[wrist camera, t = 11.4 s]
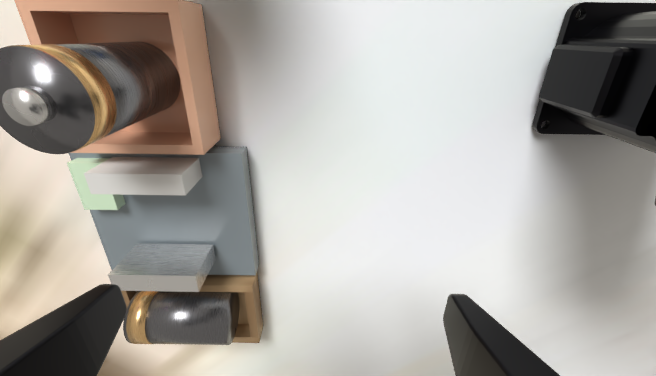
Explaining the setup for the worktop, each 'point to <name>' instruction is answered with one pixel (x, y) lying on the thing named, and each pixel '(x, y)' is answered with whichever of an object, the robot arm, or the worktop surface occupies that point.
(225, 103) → the worktop surface
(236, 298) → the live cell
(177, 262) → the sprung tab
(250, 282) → the trough
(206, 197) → the grey flat block
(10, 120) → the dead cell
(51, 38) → the salmon pink square tray
